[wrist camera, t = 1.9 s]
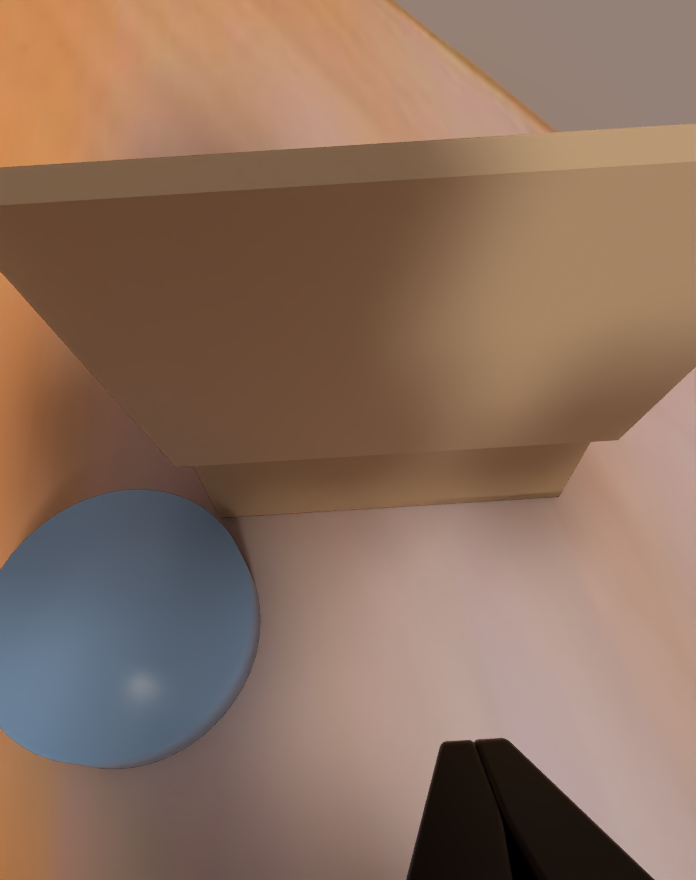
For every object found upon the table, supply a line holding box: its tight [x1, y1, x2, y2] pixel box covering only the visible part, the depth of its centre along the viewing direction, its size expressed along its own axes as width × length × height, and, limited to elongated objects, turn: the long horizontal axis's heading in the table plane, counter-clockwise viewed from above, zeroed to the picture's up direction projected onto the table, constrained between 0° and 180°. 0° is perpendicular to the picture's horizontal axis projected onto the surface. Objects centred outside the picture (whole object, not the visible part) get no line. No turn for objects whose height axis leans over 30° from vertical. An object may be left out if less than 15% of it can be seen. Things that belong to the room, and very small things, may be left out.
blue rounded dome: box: [0, 490, 261, 769], centre depth 19 cm, size 8×8×2 cm
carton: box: [194, 442, 590, 518], centre depth 23 cm, size 10×12×5 cm
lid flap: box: [0, 124, 696, 467], centre depth 12 cm, size 10×12×1 cm
